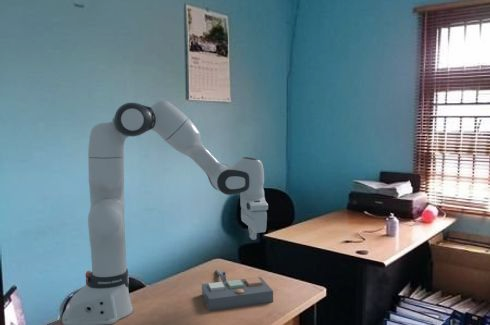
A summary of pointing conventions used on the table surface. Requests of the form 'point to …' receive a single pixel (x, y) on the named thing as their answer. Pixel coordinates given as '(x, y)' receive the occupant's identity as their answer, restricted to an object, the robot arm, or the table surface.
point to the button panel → (237, 295)
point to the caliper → (221, 275)
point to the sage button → (235, 284)
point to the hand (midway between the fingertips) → (253, 238)
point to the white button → (216, 286)
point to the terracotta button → (253, 282)
